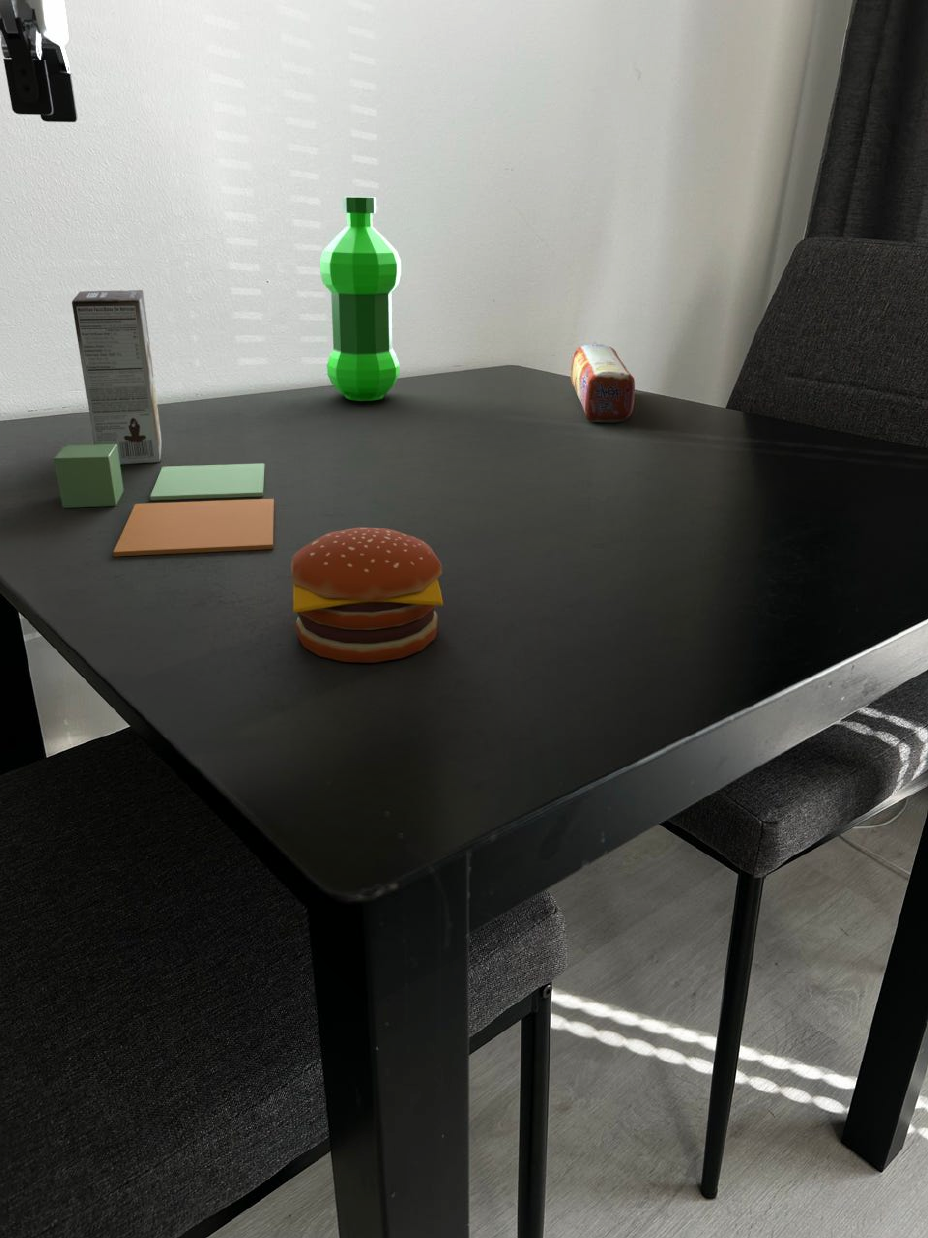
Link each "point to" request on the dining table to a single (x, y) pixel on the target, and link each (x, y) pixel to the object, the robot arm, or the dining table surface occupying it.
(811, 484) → the dining table surface
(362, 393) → the plastic bottle
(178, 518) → the caramel mat
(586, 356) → the snack package
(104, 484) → the green block
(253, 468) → the green mat
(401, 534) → the hamburger
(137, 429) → the coffee box
